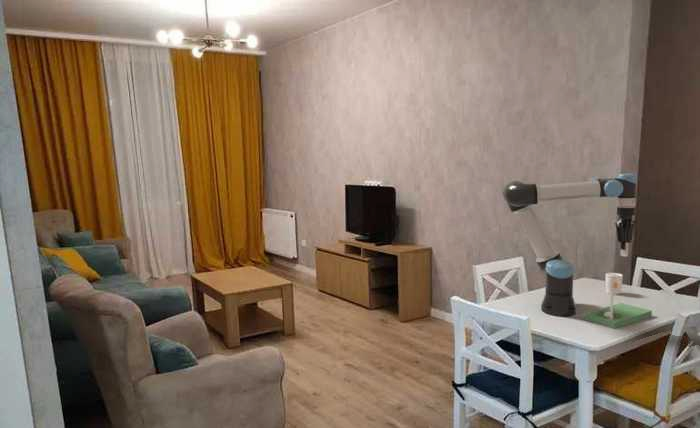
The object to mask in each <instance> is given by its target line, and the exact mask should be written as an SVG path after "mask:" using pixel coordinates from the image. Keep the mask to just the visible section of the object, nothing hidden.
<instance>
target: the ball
mask: <svg viewBox="0 0 700 428" xmlns="http://www.w3.org/2000/svg"><path fill="white" fill-rule="evenodd" d="M603 316H606V317H610V312H605V313H604V315H603ZM613 317H614V315H613Z"/></svg>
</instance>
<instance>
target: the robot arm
mask: <svg viewBox="0 0 700 428" xmlns="http://www.w3.org/2000/svg"><path fill="white" fill-rule="evenodd" d="M617 175H618V176H617V178H615V177H614V178H598V177H597V178H591V179H590V181H582V182H581V181H580V182H567V183H566V182H565V183H555V184H553V183H552V184H543V185H539V184H537V183H524V182H522V181H519V180H515V181H511V182H509V183H507V184H506V185H505V186H504V188H503V191H502V197H503V199H504V200H505V203H506V204H507V205H508V207H509V209H510V212H511V213H513V214H515V215H516V216H517V218H518V221H519V222H520V225H521V226H522V229H523V231H524V233H525V236H526V237H527V239H528V241H529V243H530V245H531V247H532V249H533V251H534V252H535V255H536V259H535V262H536V264H537V267H538V268H539V270H540V273H541V275H542V277H543V278H544V279H545V294H544V296H543V299H542V303H541V305H540V306H541V308H540V309H541V310H540V311H542V312H543V313H545V314H548V315H552V316H558V317H570V316H574V315H576V314H577V306H576V303H575V300H574V297H573V292H574V273H575V272H574V265H573V263H571V262H570V261H568V260H565V259H563V257H562V255H561V253H560V251H559V250H555V248H554V246H553V245H552V242H551V240H550V238H549V236H548V234H547V233H546V231H545V229H544V226H543V223H541V220H540V218H539V216H538V214H537V212H536V209H535V208H534V205H538V204H539V203H541V202H554V201H555V202H556V201H569V200H570V201H571V200H581V199H595V198H616V206H617V207H616V215H617V216H618V221H616V222H615V223H614V225H615V227H616V235H617V236H616V237H617V242H618V243H620V257H626V258H627V257H629V244H630V243H632V239H633V234H634V228H635V225H636V220H634V219H633V216H635V215H636V202H637V200H636V195H637V184H638V183H637V175H636V174H635V173H620V174H617Z"/></svg>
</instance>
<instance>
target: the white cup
mask: <svg viewBox="0 0 700 428" xmlns="http://www.w3.org/2000/svg"><path fill="white" fill-rule="evenodd" d="M623 277H624V276H623V274H622V273H617V272H606V273H605V292H606V293H607V294H609V295H611V283H616V282H617V288H614V295H615V296H618V294H619V295H621V294H622V286H623ZM614 295H613V296H614Z"/></svg>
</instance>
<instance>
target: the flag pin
mask: <svg viewBox="0 0 700 428" xmlns="http://www.w3.org/2000/svg"><path fill="white" fill-rule="evenodd" d="M614 288H617V282H616V283H611V294H610V305H609V306H610V321H613V305H614Z"/></svg>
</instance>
